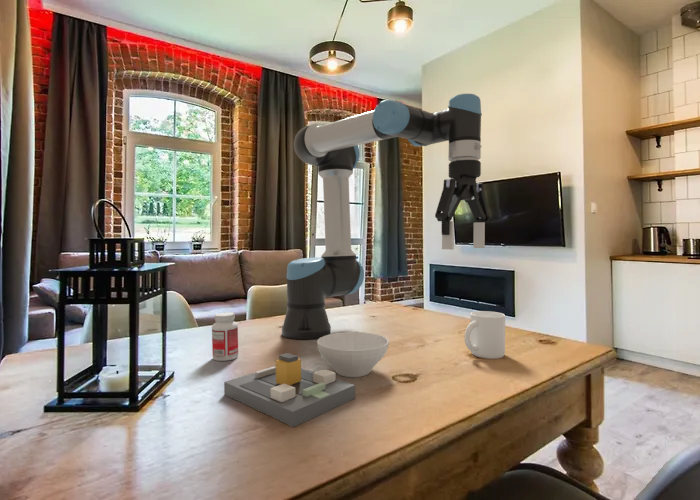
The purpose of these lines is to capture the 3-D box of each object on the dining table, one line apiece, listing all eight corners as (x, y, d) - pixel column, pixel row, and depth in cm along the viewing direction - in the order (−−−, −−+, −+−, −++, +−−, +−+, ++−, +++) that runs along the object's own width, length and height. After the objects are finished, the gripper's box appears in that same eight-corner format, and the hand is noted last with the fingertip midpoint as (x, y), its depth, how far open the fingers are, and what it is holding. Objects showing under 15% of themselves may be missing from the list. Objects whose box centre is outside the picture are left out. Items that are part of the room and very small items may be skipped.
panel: (224, 394, 76) (224, 373, 76) (285, 374, 88) (285, 355, 87) (293, 427, 63) (292, 401, 63) (354, 398, 74) (354, 375, 74)
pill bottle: (237, 353, 104) (236, 311, 104) (239, 360, 98) (238, 315, 98) (212, 355, 102) (211, 312, 101) (212, 362, 96) (211, 317, 96)
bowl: (366, 390, 78) (366, 354, 78) (302, 375, 87) (302, 343, 86) (400, 367, 92) (400, 337, 91) (342, 356, 100) (342, 329, 100)
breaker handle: (275, 382, 75) (275, 356, 75) (290, 377, 78) (290, 351, 77) (286, 386, 73) (286, 359, 73) (301, 381, 76) (300, 354, 75)
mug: (478, 363, 94) (478, 320, 94) (452, 355, 101) (452, 314, 101) (512, 356, 100) (512, 315, 99) (486, 348, 107) (486, 309, 107)
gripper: (447, 151, 86) (447, 250, 87) (504, 165, 102) (503, 247, 103) (419, 157, 91) (419, 249, 92) (478, 168, 108) (477, 247, 109)
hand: (464, 248), depth 98 cm, fingers open, 13 cm apart
